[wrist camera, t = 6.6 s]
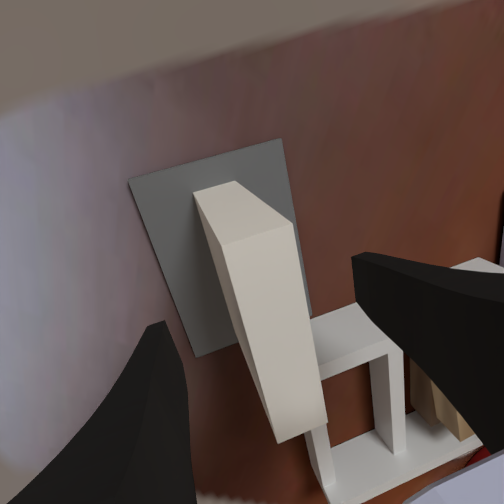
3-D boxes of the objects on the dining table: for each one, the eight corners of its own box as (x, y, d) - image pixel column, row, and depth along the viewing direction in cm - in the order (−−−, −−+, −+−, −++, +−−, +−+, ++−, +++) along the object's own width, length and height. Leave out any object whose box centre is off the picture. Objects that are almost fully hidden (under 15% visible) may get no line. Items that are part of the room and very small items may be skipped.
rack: (478, 257, 21) (533, 280, 18) (467, 396, 27) (508, 432, 24) (280, 330, 19) (304, 371, 16) (311, 466, 25) (334, 516, 22)
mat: (279, 138, 15) (281, 138, 15) (309, 312, 19) (312, 315, 19) (127, 179, 14) (127, 180, 14) (195, 354, 18) (195, 357, 18)
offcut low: (448, 289, 22) (481, 308, 20) (445, 383, 26) (472, 408, 24) (404, 306, 22) (432, 327, 20) (407, 400, 26) (431, 426, 23)
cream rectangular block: (234, 180, 15) (292, 223, 9) (268, 319, 18) (328, 422, 12) (192, 192, 15) (221, 245, 8) (234, 331, 18) (277, 443, 12)
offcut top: (473, 322, 20) (503, 341, 19) (478, 394, 24) (504, 416, 22) (425, 347, 20) (451, 370, 18) (436, 417, 23) (460, 442, 21)
